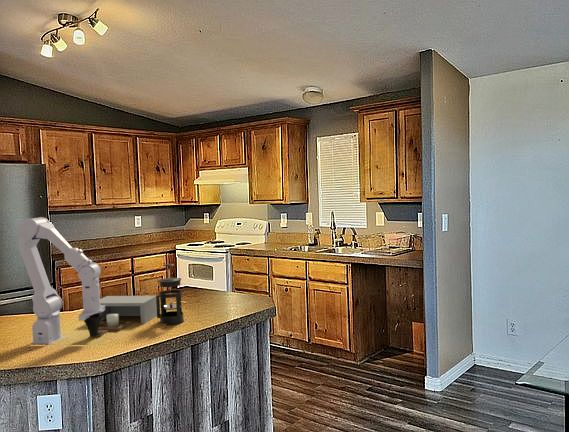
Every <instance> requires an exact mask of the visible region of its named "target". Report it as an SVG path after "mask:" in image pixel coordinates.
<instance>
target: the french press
mask: <svg viewBox="0 0 569 432" xmlns="http://www.w3.org/2000/svg"><path fill="white" fill-rule="evenodd" d="M174 266H175V264H174V263H165V264H163V267H167V270H168V275H169V276H168V277H166V278H161V279H157V282H158V283H159V287H160V288H169V289H167V290H162V291H159V292H158V294H157V295H155V296H156V306H157V316H156V318H157V319H160V320H159V321H160V324H164V325H165V326H175V325H180V324H182V323H184V322H185V319H184V312H183V311H182V310H183V309H182V306H183V304H182V295H183V291H182V290H181V289H172V288H174V287H179V286H181V281H182V278H180V277H171V267H174ZM172 298H175V303H173V301H172ZM167 299H170V302H169V303H167Z"/></svg>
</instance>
